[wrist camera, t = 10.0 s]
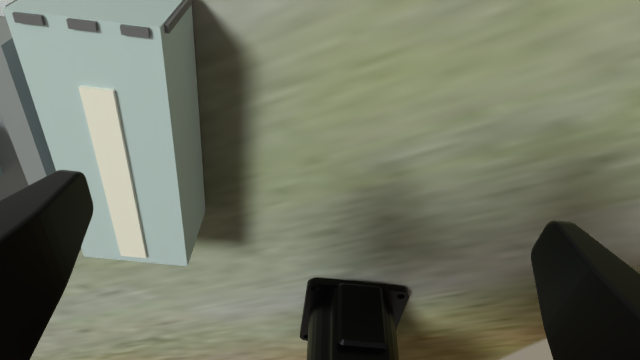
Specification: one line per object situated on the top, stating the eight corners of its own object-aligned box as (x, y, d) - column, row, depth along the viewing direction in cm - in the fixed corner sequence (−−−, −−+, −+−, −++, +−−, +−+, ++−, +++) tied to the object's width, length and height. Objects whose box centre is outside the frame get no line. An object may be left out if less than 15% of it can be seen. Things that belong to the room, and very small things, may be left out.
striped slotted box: (208, 211, 25) (189, 268, 22) (112, 201, 25) (79, 258, 22) (194, -10, 18) (163, 29, 15) (57, -26, 18) (-5, 9, 14)
